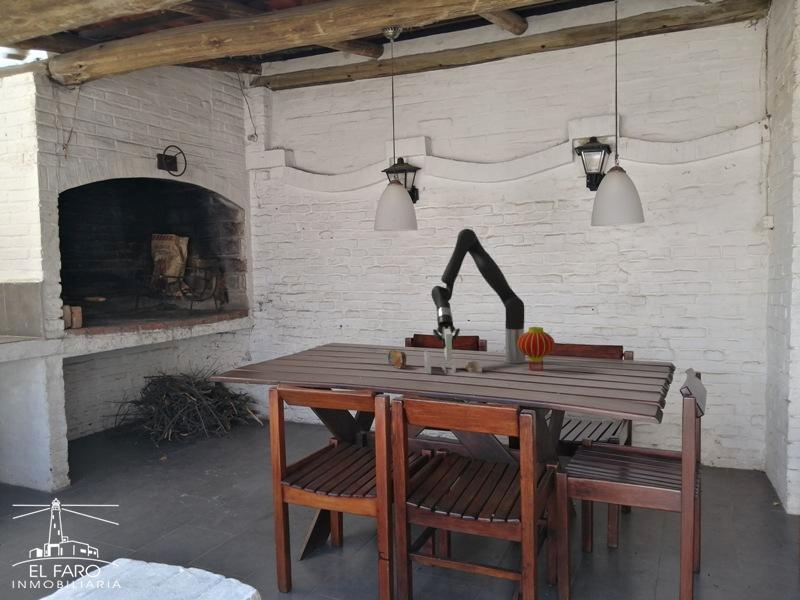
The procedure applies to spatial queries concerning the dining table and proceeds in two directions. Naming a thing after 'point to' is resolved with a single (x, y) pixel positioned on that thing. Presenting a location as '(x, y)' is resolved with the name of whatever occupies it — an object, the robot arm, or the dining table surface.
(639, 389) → the dining table surface
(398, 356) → the tin
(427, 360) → the rack
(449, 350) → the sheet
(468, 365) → the offcuts
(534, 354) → the lantern
